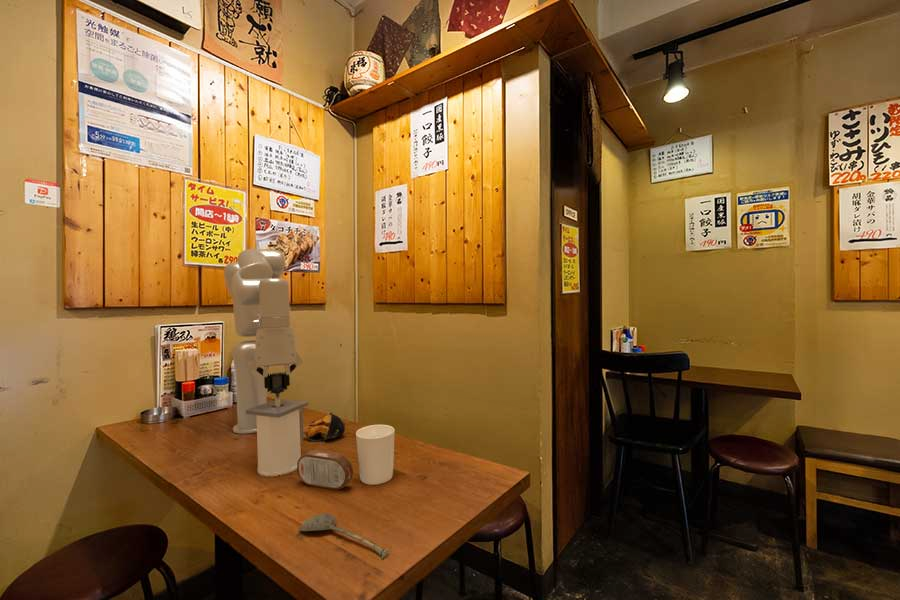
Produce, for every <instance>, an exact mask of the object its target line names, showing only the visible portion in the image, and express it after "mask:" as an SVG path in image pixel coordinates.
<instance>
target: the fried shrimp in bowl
mask: <svg viewBox="0 0 900 600" xmlns="http://www.w3.org/2000/svg"><path fill="white" fill-rule="evenodd" d="M345 427H346V422H343V420H342V419H341V418H340V417H339V416H338V415H336V414H334V413H333V412H330V413H329V414H328V415H326V416H324V418H319V419H316V420H313V421H312V422H310V423H309V424H307V425H306V426H303V435H305V437H306V438H307V439H308V440H309V441H312V442H319V441H327V440H329V441H330V440H333V439H337V437H339V436H343V435H344V433H345V431H346V429H345Z"/></svg>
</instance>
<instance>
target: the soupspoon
mask: <svg viewBox="0 0 900 600" xmlns="http://www.w3.org/2000/svg"><path fill="white" fill-rule="evenodd" d="M336 522H337V519H336V516H335V515H334V514H332V513H329V512H326V513H324V512H322V513H318V514H316V515H313V516H311V517H309V518H308V519H307V520H305V521H304V522H303V523H302V524H301V525H300V527H299V528H300V529H298V531H299V532H313V531H314V532H315V531H326V530H327V531H328V530H331V531H335V532H338V533H340V534H343V535H345V536H348V537H349V538H352V539H354V540H357V541H359V542H361V543H363V544H365V545H367V546H369V547H370V548H371V550H374V551H375V552H376V553H377V554H378V555H379V556H380V558H381V560H382V559H384V558H386V556H388V554H389V553H390V551H389V549H388V548H386V549H384V548H382V547H380V546H378V545H377V544H374V543H372V542H370V541H369V540H367V539H365V538H363V537H361V536H358V535H357V534H355V533H353V532H350V531H349V530H346V529H344V528H341V527H339V526H336Z"/></svg>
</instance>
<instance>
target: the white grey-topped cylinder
mask: <svg viewBox="0 0 900 600" xmlns="http://www.w3.org/2000/svg"><path fill="white" fill-rule="evenodd" d="M308 406H309V401H304V400H303V401H302V400H291V399H281V398H280V407H279V408H276V403H275V399H274V400H272V401H271V400H270V401H269V402H267V403H265V404H262V405H259V406H256V407H254V408H251V409H248V410H246V414H251V415H256V419H257V432H256V440H257V441H256V443H257V446H256V447H257V474H259V476H261V477H269V476H270V477H278V475H280V476H283V474H284V475H287V474H290V473H292V472H294V471H296V470H298V469H297V462H298V460H299V458H300V457H301V456H302V453H301V442H303V441H304V433H303V427H304V422H303V420H304V419H303V408H306V407H308Z"/></svg>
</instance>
